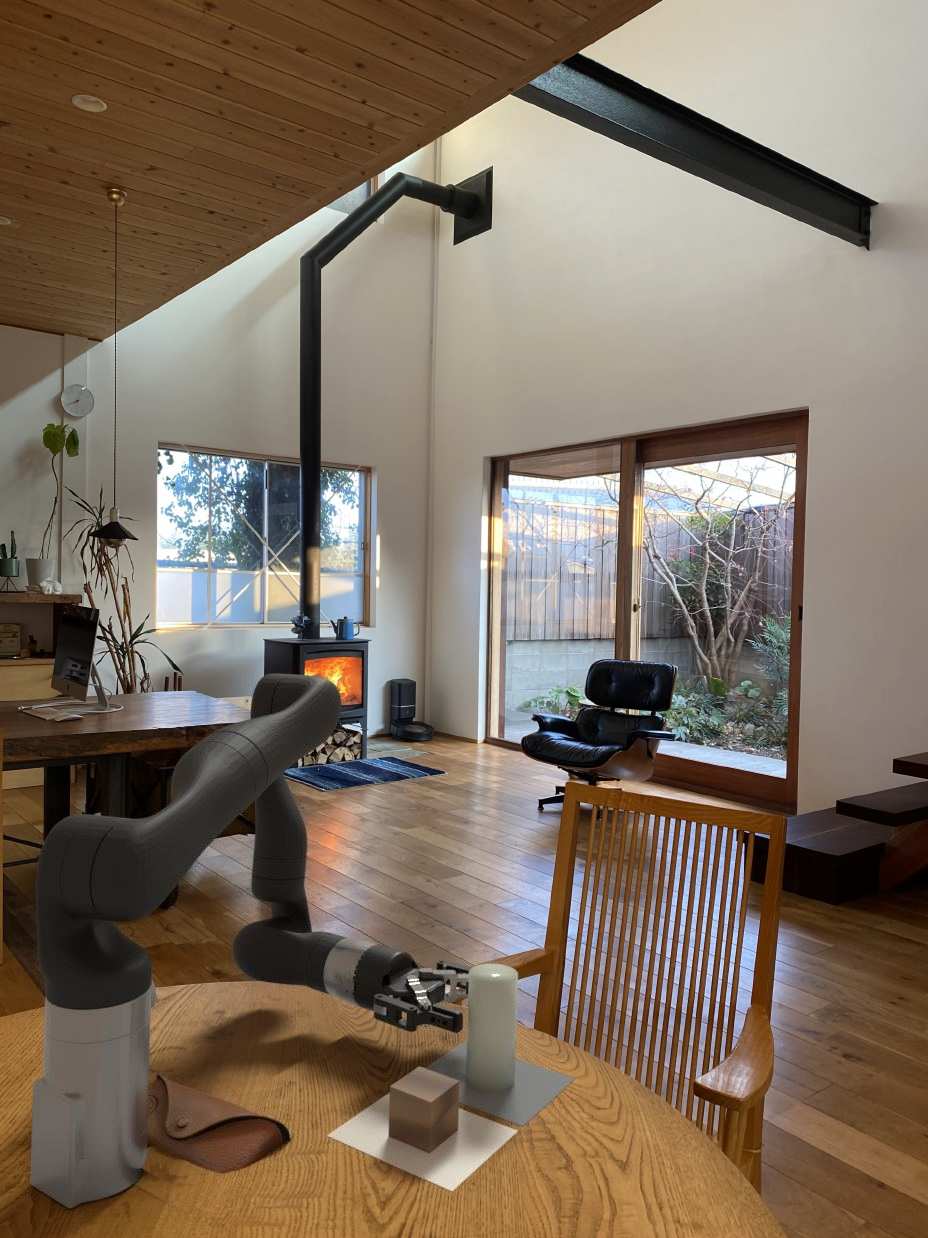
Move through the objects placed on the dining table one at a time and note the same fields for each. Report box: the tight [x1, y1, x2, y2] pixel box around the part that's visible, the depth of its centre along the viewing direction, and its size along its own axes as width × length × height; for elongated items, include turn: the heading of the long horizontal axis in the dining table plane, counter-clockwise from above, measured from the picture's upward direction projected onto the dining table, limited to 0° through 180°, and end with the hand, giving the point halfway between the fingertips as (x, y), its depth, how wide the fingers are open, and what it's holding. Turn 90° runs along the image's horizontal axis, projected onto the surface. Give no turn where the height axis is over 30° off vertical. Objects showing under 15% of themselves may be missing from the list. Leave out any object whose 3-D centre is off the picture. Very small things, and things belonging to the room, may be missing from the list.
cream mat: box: [326, 1092, 519, 1192], centre depth 93 cm, size 12×15×1 cm
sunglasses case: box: [147, 1074, 291, 1175], centre depth 92 cm, size 18×7×7 cm
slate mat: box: [424, 1041, 576, 1128], centre depth 104 cm, size 12×15×1 cm
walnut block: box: [388, 1065, 460, 1154], centre depth 93 cm, size 5×5×5 cm
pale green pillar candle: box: [466, 963, 519, 1092], centre depth 104 cm, size 6×6×12 cm
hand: (481, 1009), depth 105 cm, fingers open, 8 cm apart
